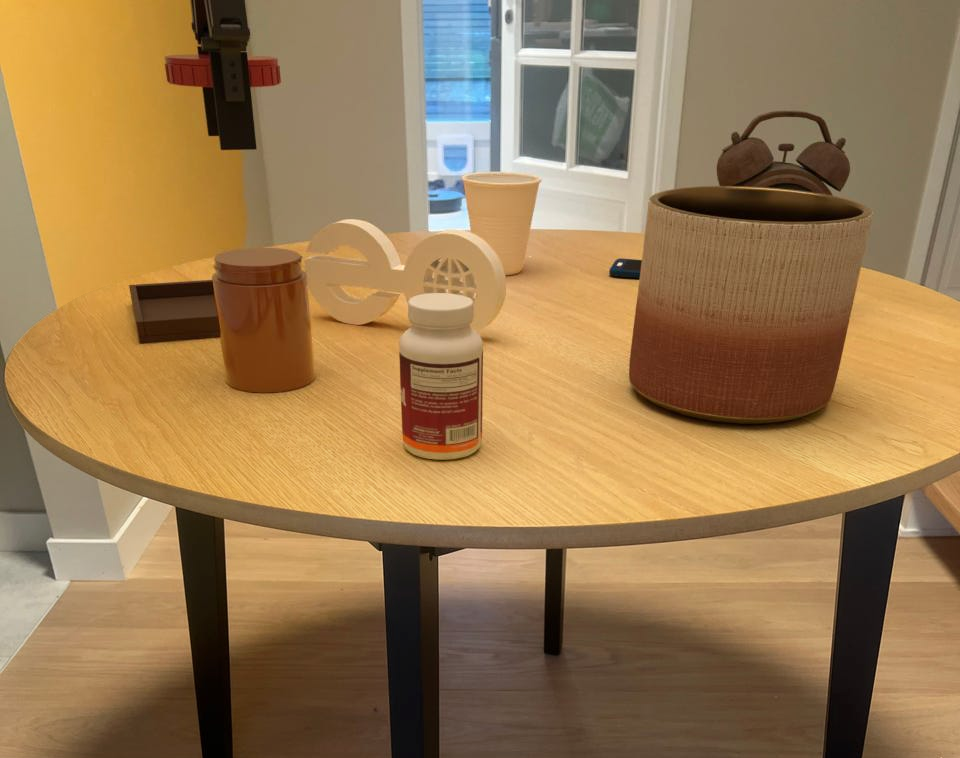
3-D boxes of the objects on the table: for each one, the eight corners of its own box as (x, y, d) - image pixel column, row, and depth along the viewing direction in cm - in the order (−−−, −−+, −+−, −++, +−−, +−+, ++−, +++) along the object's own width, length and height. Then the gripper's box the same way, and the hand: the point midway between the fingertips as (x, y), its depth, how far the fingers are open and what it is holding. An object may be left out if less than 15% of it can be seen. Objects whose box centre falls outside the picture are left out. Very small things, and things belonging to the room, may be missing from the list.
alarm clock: (701, 317, 105) (731, 113, 94) (687, 301, 111) (714, 107, 100) (829, 319, 106) (874, 115, 94) (809, 302, 112) (848, 109, 100)
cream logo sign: (504, 339, 97) (507, 234, 91) (496, 344, 95) (499, 239, 90) (319, 313, 104) (312, 214, 98) (309, 318, 102) (300, 218, 97)
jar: (231, 396, 81) (214, 269, 76) (220, 368, 88) (204, 249, 82) (323, 387, 84) (313, 263, 78) (306, 361, 90) (295, 244, 84)
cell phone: (615, 263, 126) (616, 257, 126) (721, 271, 123) (722, 265, 123) (607, 276, 120) (608, 269, 120) (718, 284, 117) (719, 278, 117)
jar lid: (272, 80, 80) (270, 55, 79) (288, 87, 73) (286, 60, 72) (164, 79, 77) (161, 53, 76) (171, 87, 71) (167, 59, 70)
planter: (874, 409, 82) (925, 213, 73) (717, 445, 74) (754, 231, 65) (733, 353, 94) (762, 180, 85) (587, 379, 87) (603, 192, 78)
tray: (139, 343, 94) (135, 321, 93) (132, 304, 106) (128, 284, 105) (274, 332, 98) (272, 311, 96) (252, 295, 110) (250, 277, 108)
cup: (445, 269, 122) (444, 176, 116) (498, 258, 128) (500, 169, 122) (500, 283, 116) (502, 186, 110) (552, 271, 122) (558, 178, 116)
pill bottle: (418, 427, 76) (415, 286, 70) (491, 437, 75) (495, 293, 69) (390, 456, 71) (384, 307, 65) (467, 467, 70) (469, 315, 64)
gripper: (268, -253, 58) (300, 158, 70) (226, -197, 74) (258, 127, 87) (140, -266, 56) (196, 160, 68) (127, -206, 72) (174, 128, 85)
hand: (231, 141), depth 78 cm, fingers closed on jar lid, 9 cm apart
